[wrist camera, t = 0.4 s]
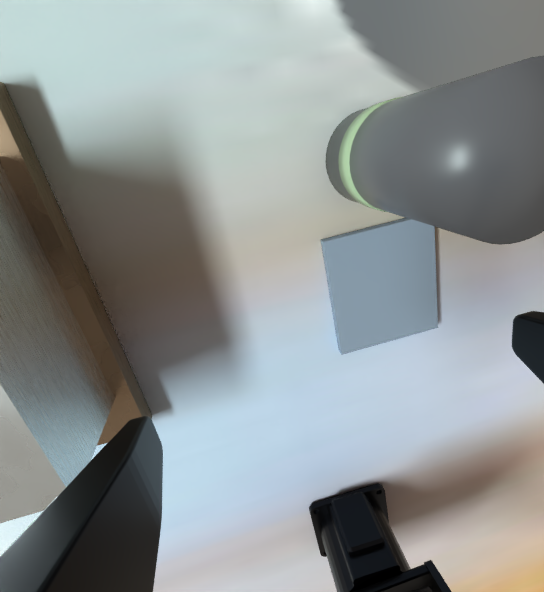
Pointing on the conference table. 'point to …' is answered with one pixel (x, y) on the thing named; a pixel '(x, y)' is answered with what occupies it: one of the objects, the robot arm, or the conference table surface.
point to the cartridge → (452, 155)
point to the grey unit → (49, 340)
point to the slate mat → (382, 283)
